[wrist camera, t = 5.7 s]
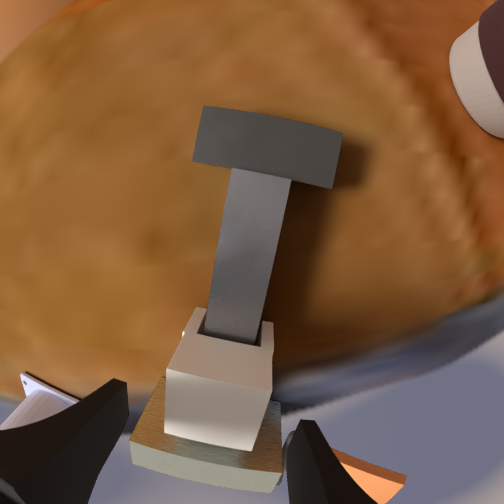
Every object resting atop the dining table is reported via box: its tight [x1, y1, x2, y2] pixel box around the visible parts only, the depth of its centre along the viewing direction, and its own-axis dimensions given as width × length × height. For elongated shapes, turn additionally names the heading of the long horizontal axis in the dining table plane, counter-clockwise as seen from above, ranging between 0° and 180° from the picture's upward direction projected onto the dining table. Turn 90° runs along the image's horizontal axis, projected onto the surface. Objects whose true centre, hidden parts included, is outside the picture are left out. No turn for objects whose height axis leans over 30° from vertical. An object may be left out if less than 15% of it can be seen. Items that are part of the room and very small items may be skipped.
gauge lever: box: [282, 431, 406, 504], centre depth 13 cm, size 3×8×1 cm, turn 79°
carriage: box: [164, 307, 274, 451], centre depth 13 cm, size 4×4×6 cm
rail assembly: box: [129, 106, 343, 493], centre depth 13 cm, size 18×8×6 cm, turn 169°
